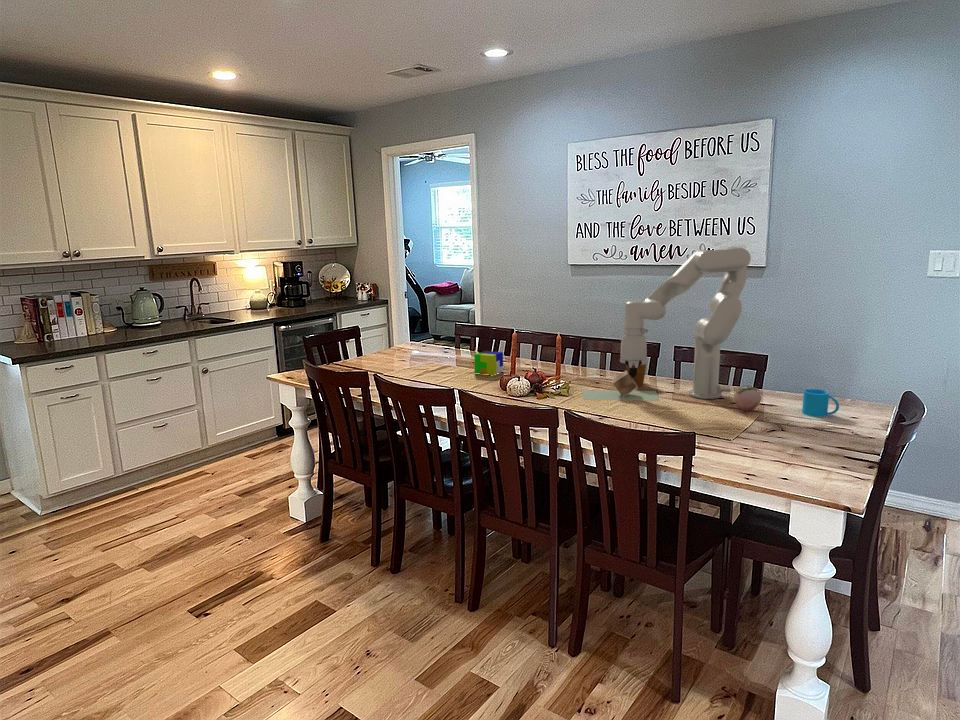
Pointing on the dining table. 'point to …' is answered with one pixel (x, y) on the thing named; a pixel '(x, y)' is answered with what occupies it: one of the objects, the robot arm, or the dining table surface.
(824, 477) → the dining table surface
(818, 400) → the mug
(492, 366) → the puzzle toy
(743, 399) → the decorative fruit
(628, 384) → the walnut block
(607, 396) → the mat
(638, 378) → the disposable coffee cup
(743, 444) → the dining table surface
